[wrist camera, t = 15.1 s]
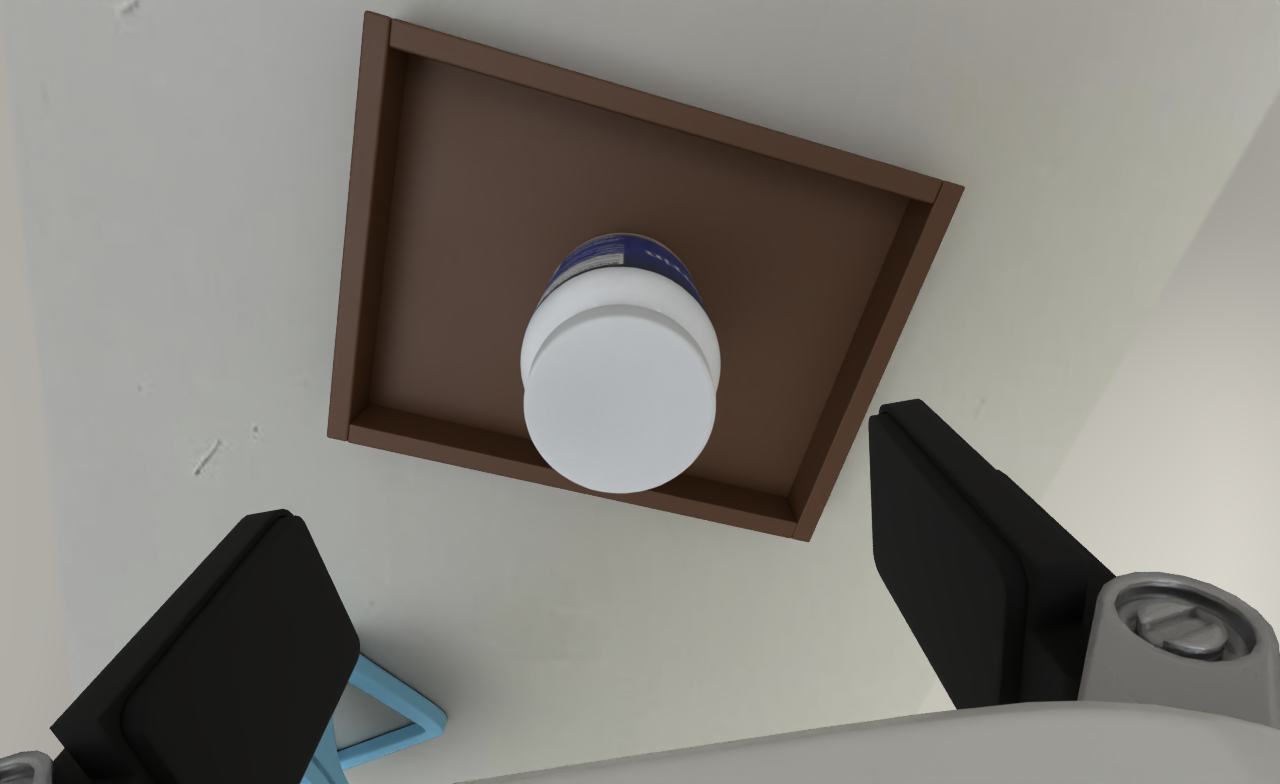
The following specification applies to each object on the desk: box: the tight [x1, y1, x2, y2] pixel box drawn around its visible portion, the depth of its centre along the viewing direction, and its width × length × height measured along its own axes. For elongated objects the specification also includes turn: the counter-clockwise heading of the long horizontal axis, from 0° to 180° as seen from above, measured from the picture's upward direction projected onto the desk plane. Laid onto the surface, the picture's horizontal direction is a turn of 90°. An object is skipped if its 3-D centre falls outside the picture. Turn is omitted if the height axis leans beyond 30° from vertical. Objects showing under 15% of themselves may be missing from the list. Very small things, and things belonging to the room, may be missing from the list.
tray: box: [327, 11, 965, 542], centre depth 24 cm, size 20×15×2 cm
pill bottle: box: [520, 233, 721, 493], centre depth 20 cm, size 6×6×10 cm
